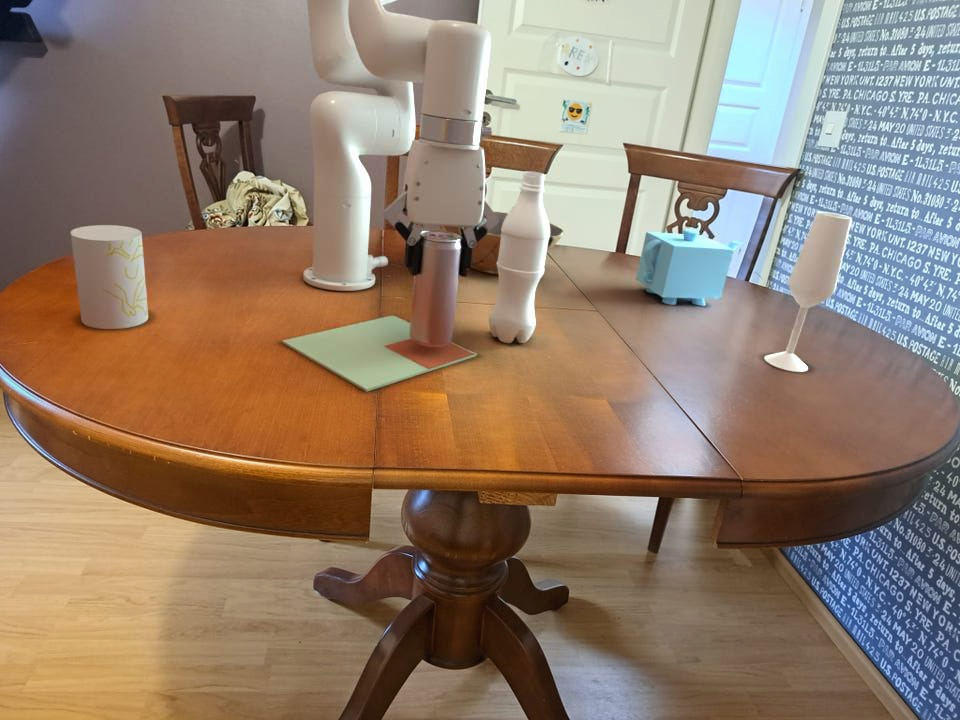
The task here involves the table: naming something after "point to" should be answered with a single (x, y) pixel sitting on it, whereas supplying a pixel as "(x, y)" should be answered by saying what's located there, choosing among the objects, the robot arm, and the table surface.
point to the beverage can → (435, 288)
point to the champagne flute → (814, 277)
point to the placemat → (375, 352)
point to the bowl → (496, 245)
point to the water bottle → (521, 262)
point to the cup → (110, 276)
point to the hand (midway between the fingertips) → (436, 272)
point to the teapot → (684, 266)
